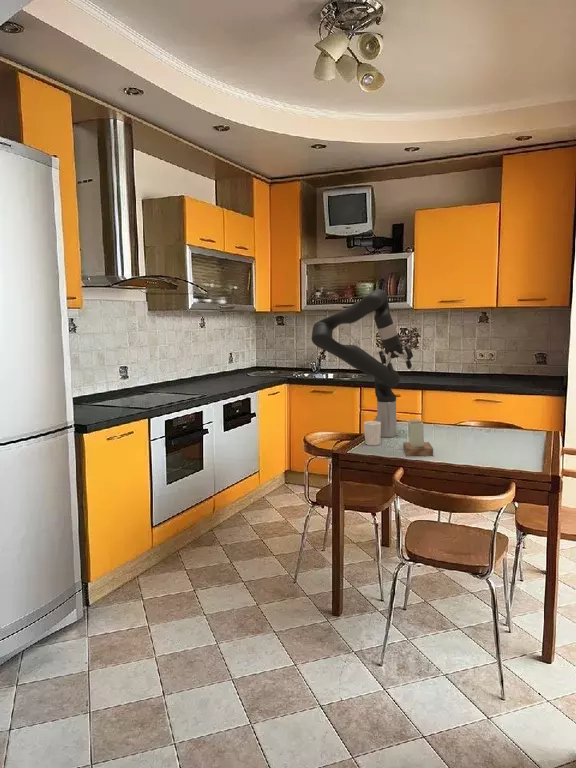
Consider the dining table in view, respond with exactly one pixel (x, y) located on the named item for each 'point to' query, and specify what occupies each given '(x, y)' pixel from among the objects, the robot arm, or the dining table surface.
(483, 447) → the dining table surface
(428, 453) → the walnut block
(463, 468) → the dining table surface
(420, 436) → the canister
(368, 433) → the white cup
